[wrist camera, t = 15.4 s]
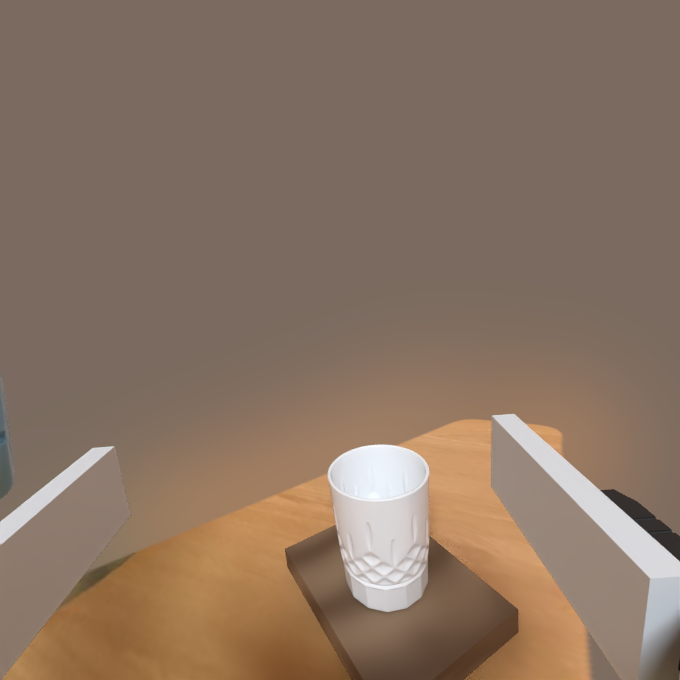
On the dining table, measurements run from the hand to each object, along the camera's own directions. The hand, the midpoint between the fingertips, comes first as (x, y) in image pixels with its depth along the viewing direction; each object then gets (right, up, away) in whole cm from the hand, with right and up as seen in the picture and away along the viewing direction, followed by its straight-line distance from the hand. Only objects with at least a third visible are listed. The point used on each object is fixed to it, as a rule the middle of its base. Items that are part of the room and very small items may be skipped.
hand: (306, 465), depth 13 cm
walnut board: (+5, -17, +19) cm, 26 cm away
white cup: (+5, -16, +18) cm, 25 cm away
